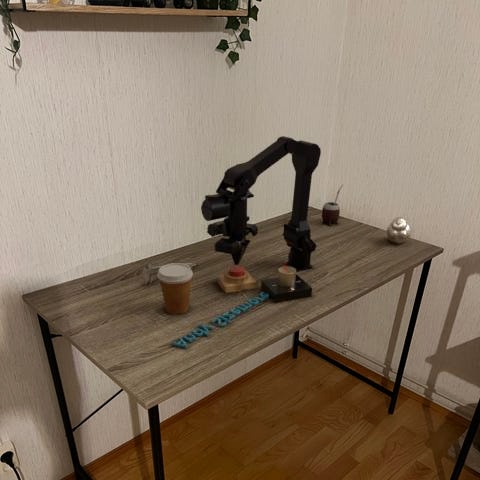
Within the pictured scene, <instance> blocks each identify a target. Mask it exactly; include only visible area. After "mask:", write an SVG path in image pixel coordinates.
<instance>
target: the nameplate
mask: <svg viewBox="0 0 480 480" xmlns="http://www.w3.org/2000/svg"><path fill="white" fill-rule="evenodd" d="M267 299H269V295H268V294H265V293H264V292H263V291H262V292H261V293H260V294H259V297H258V296H254V297H253V298H250V299H249V300H248V302H247V301H245V302H243V304H242V303H241V304H240V306H238V305H237V306H236V307H234V308H232V309H231V310H230V312H229V311H226V312H225V313H222V315H219V316H218V317H216V318H213V319H212V320H211V324H214V323H215V322H218V323H217V326H218V327H219V328H220V327H221V328H223V327H226V326H227V323H228V324H230V323H231V320H233V319H234V318H235V317H236V316H239V315H241V312H242V313H244V312H246V311H248V309H252V307H253V306H258V304H259V302H261V303H262V302H263V301H265V300H267ZM222 321H224V322H223V323H222ZM214 329H215V326H211V325H206V324H201V323H199V324H198V325H197V328H196V329H193V331H192V333H190V332H188V333H187V336H186V335H182V337H179V341H177V342H175V341H172V342H171V343H170V345H171V346H175V347H179V348H183V349H187V348H188V343H186V341H187V342H189V343H192V342H193V341H195V340H196V339H197V338H196V337H203V336H206V337H209V336H210V333H209V330H211V331H213V330H214Z"/></svg>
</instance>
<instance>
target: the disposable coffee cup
mask: <svg viewBox="0 0 480 480" xmlns="http://www.w3.org/2000/svg"><path fill="white" fill-rule="evenodd" d="M185 264H186V263H180V262H174V263H167V264H164V265H161V266H162V267H161V268H160V269H159V272H158V274H157V275H156V276H157V278H158V280H159V284H160V289H161V292H162V298H163V302H164V306H165V310H166V312H167V313H169V314H173V315H179V314H180V315H181V314H184V313H186V312H188V310H189V306H190V296H191V295H190V294H191V283H192V278H193V276H194V272H193V270H192V268H190V267H189V266H188V265H185Z"/></svg>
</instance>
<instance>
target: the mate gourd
mask: <svg viewBox="0 0 480 480" xmlns="http://www.w3.org/2000/svg"><path fill="white" fill-rule="evenodd" d="M343 186H344V183H343V184H341V186H340V187H338V190H337V192H336V195H335V200H334V202H333V201H329V202H325V203H324V204H323V206H322V208H321V224H328V226H329V227H330V226H331V225H338V220H339V218H340V212H341V209H340V205H339V203H337V201H338V197H339V194H340V191H341V189H342V188H343Z"/></svg>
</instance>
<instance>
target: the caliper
mask: <svg viewBox="0 0 480 480" xmlns="http://www.w3.org/2000/svg"><path fill="white" fill-rule="evenodd" d="M184 264H185V265H188V266H189V267H190V268H191V269H192V268H194V267H196V266H197V264H195V263H193V262H188V263H184ZM162 266H163V265H157V266H152V264H150V263H149V264H145V268H143V271H142V272H143V273H142V278H143V284H145V285H148V283H149V284H152V283H153V281H154V278H155V275H156V276H157V274H158V272H159V269H160V268H161V267H162Z"/></svg>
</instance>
